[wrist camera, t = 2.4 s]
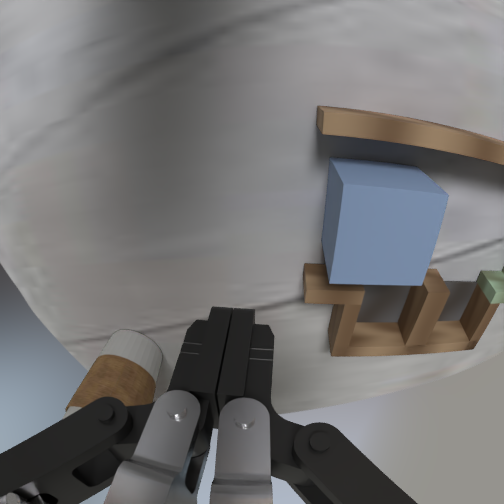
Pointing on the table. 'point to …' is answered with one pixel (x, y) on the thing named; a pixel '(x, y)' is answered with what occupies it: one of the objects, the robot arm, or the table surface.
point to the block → (380, 222)
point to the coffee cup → (121, 372)
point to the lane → (433, 288)
